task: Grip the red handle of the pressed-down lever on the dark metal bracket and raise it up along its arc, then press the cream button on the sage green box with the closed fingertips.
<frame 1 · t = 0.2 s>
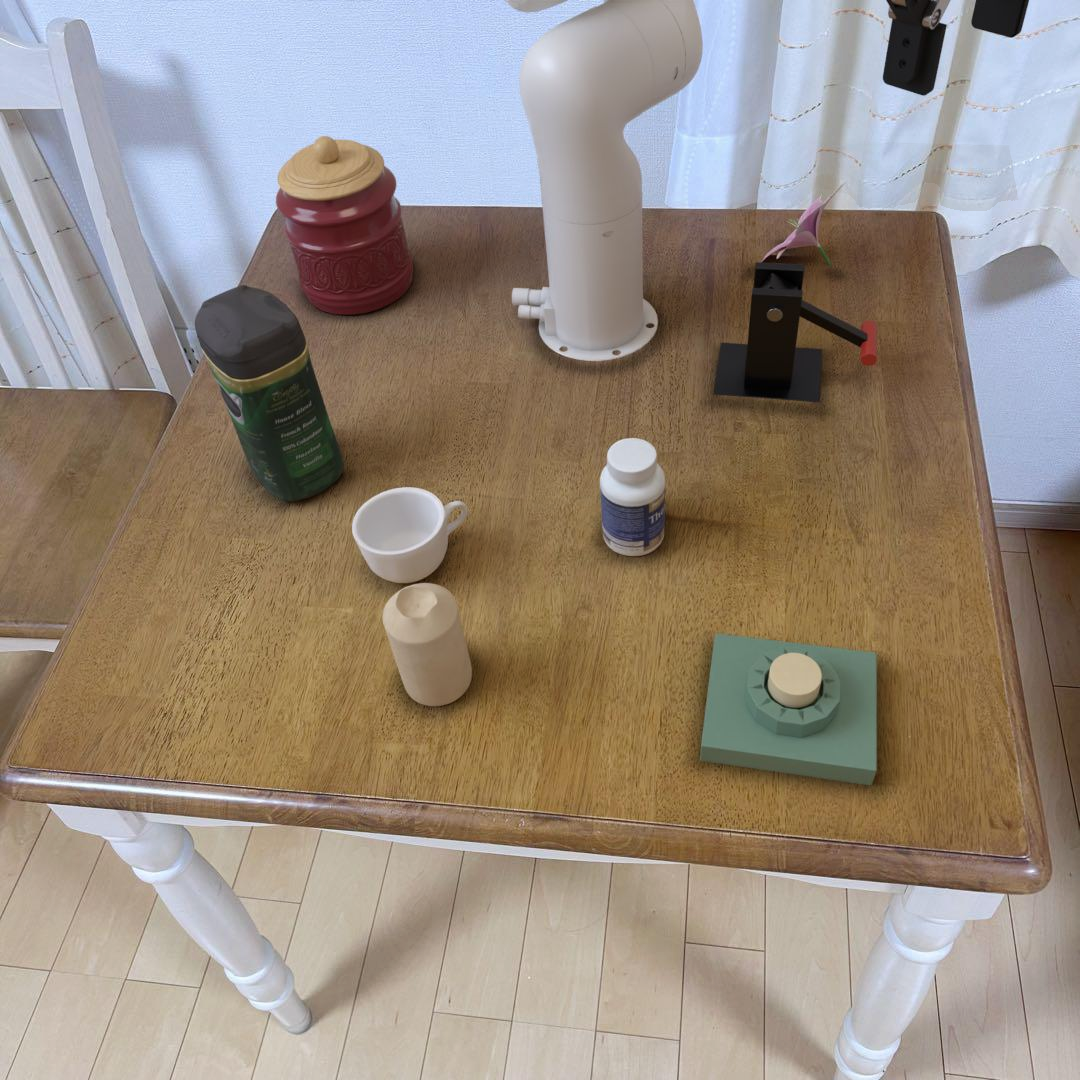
hand: (952, 58, 64), 37 cm above the table, tool pointing down, fingers open, 9 cm apart
coffee jar: (299, 470, 98), on the table
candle: (438, 679, 81), on the table
lever: (820, 317, 94), point 8 cm above the table, hinge at -28.0°
lily: (797, 266, 113), on the table
button: (794, 680, 73), point 4 cm above the table, slide at 0.1 cm
teacup: (421, 557, 89), on the table
button box: (788, 713, 76), on the table
pill bottle: (633, 536, 89), on the table
bracket: (767, 380, 101), on the table
kitchen canister: (360, 285, 118), on the table
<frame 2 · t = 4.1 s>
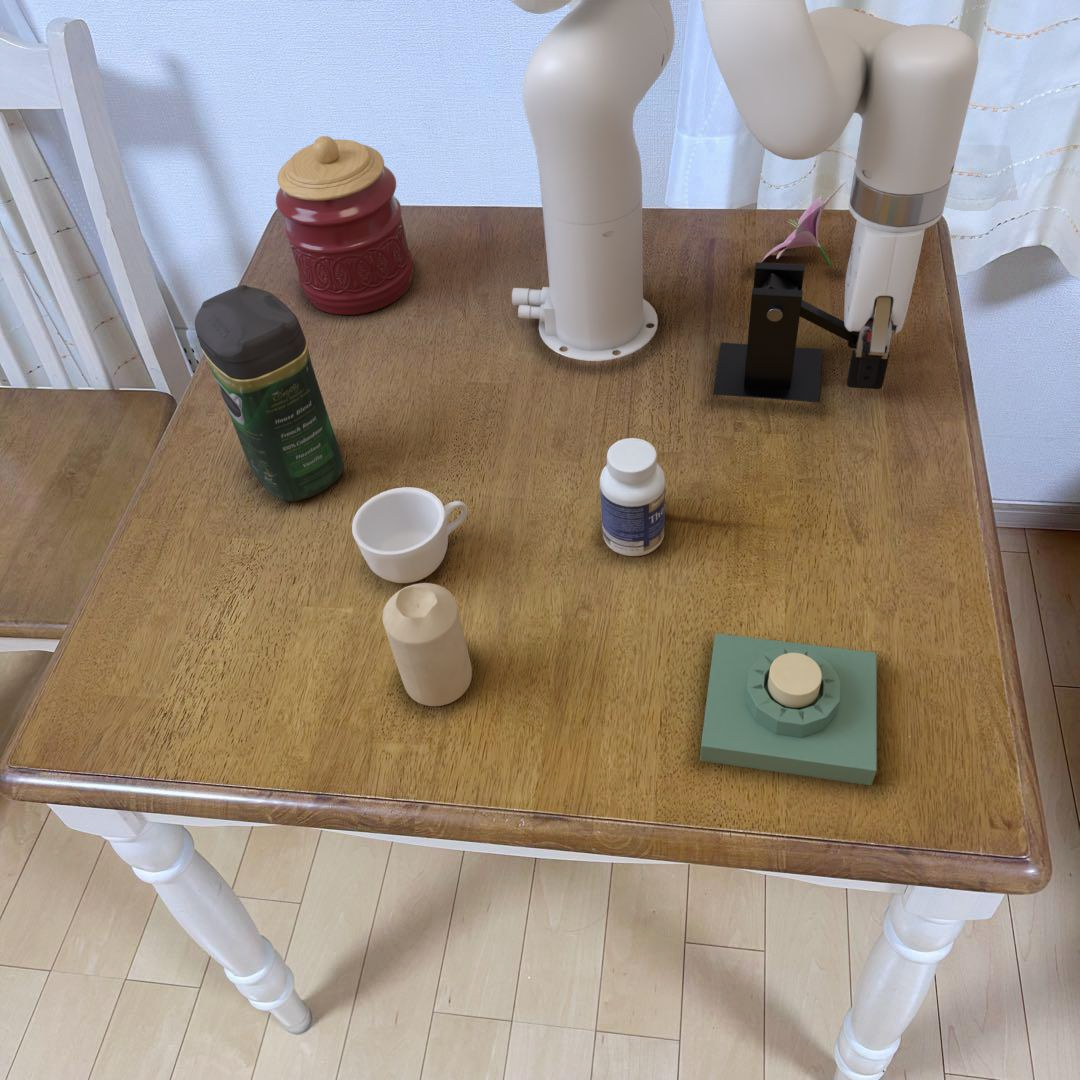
hand: (864, 364, 97), 3 cm above the table, tool pointing down, fingers closed on lever, 5 cm apart
lever: (820, 318, 94), point 8 cm above the table, hinge at -28.0°, touching gripper
everything else where it was.
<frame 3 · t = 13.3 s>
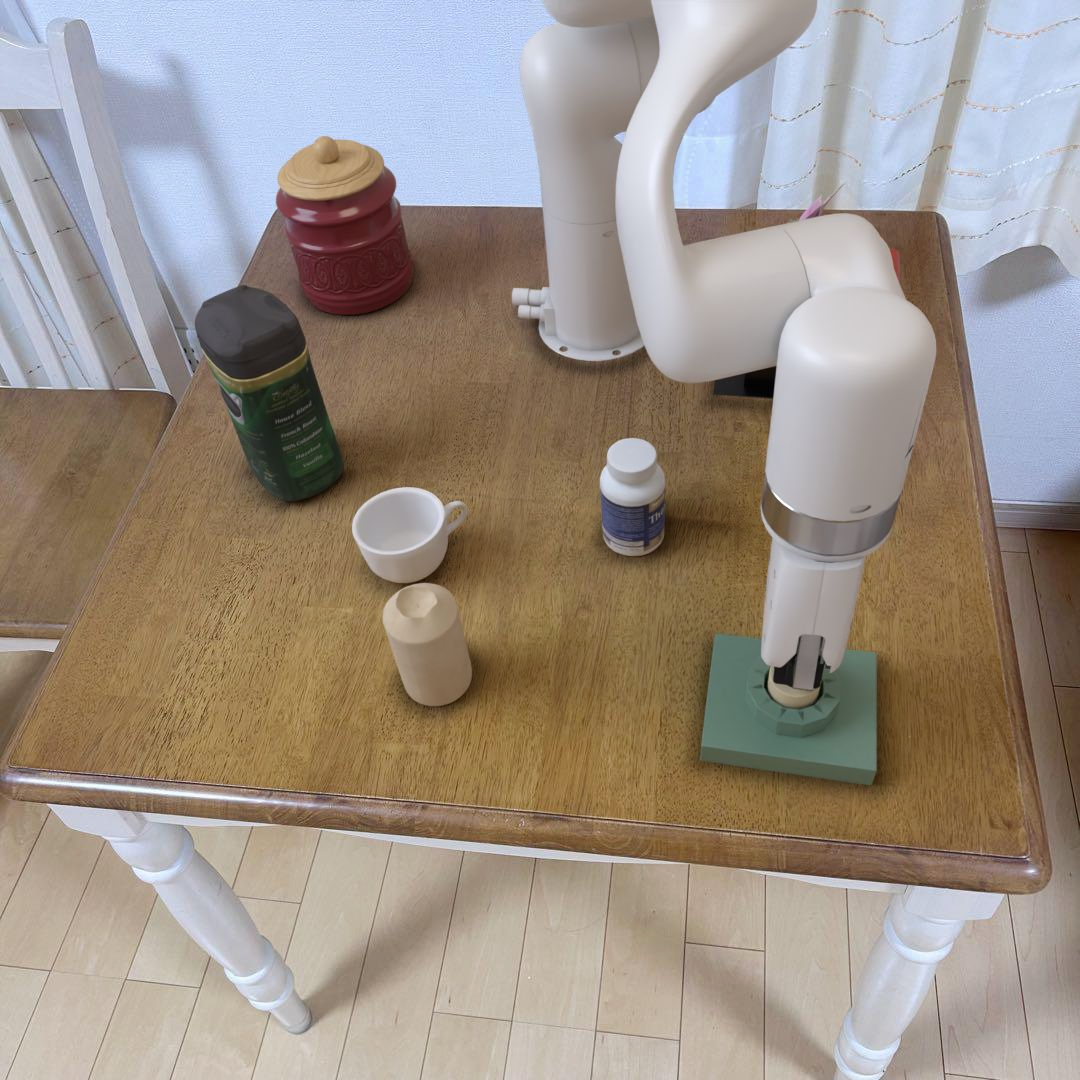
hand: (796, 676, 72), 5 cm above the table, tool pointing down, fingers closed
lever: (828, 284, 91), point 11 cm above the table, hinge at 18.0°
button: (794, 681, 73), point 4 cm above the table, slide at -0.1 cm, touching gripper
everything else where it was.
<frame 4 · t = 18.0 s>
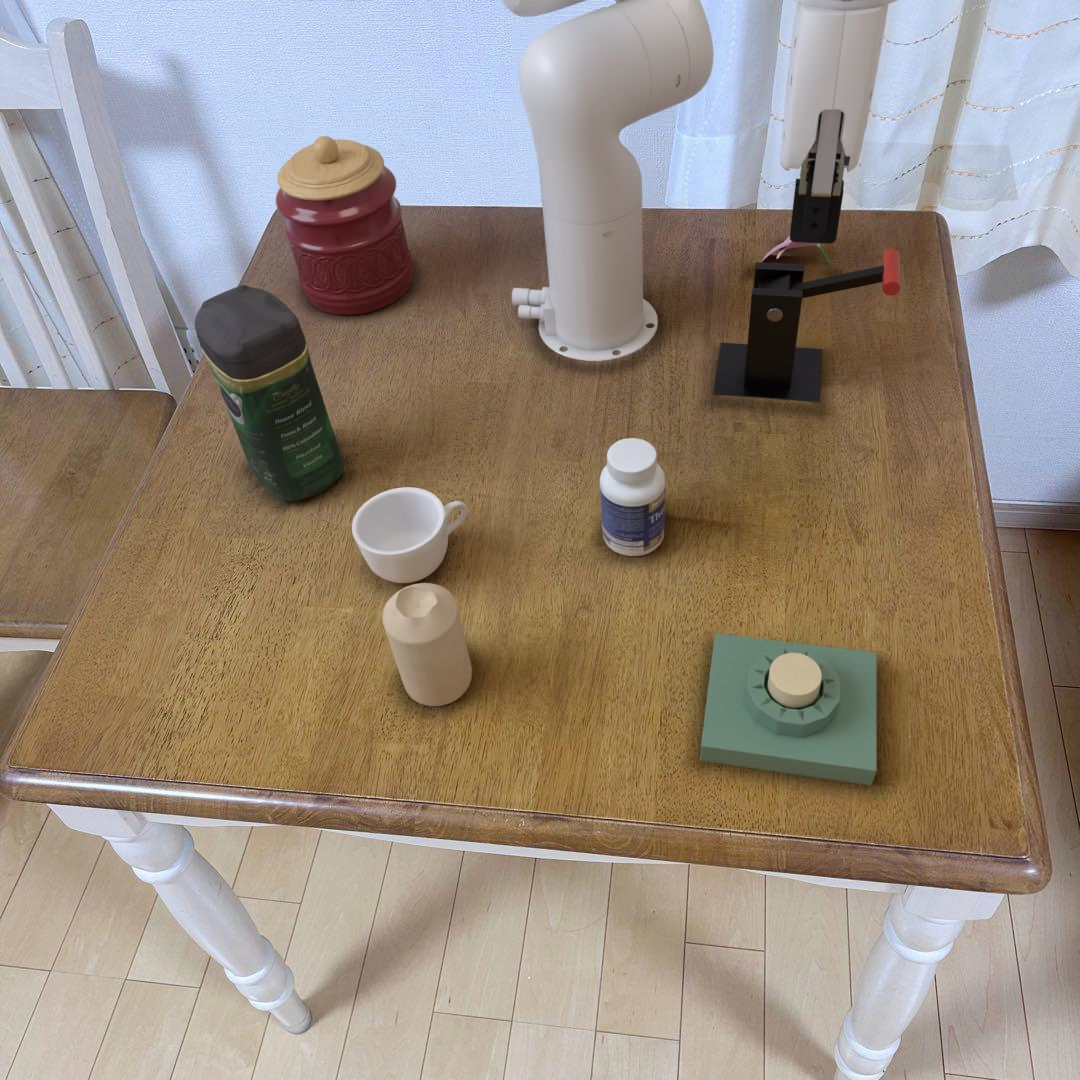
hand: (812, 236, 73), 25 cm above the table, tool pointing down, fingers closed
button: (794, 680, 73), point 4 cm above the table, slide at 0.1 cm
everything else where it was.
at the end: lever at +18° (first picture: -28°); button pushed in 1.1 cm at the most during the clip, back to where it started at the end; button slide at 0.1 cm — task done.
